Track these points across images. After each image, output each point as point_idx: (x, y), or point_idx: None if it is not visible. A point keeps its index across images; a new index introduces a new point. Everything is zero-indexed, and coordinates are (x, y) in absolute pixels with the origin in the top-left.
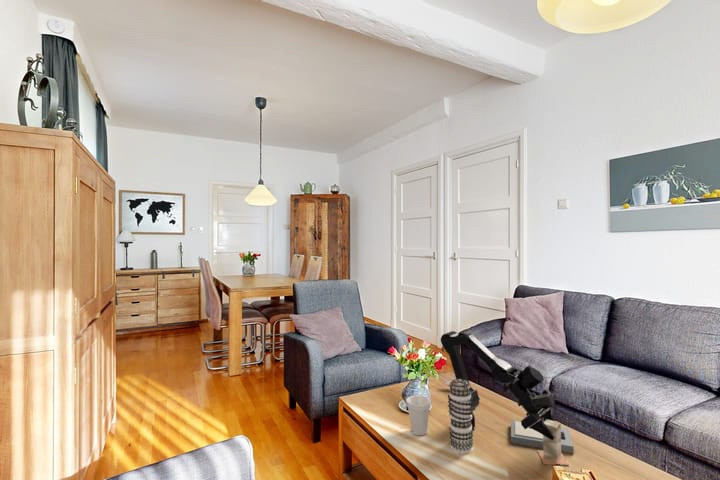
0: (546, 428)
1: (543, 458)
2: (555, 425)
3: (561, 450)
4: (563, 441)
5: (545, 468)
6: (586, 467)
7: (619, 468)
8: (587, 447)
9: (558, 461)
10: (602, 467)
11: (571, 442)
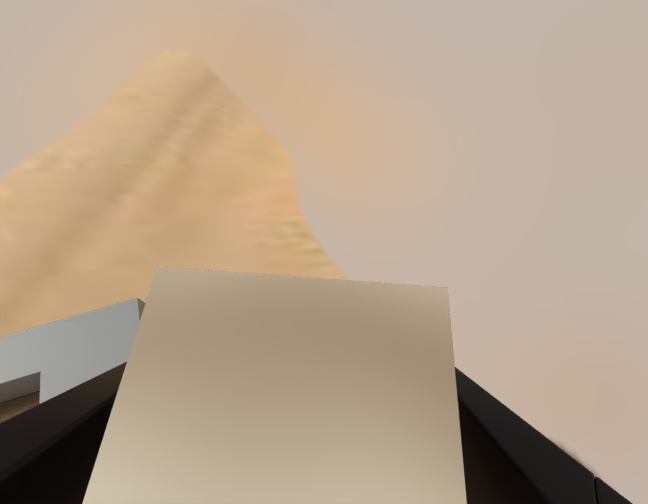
0: (614, 500)
1: None
2: (347, 327)
3: None
4: (77, 382)
5: None
6: (292, 229)
7: (210, 120)
8: (38, 257)
9: None
10: (243, 172)
11: (72, 322)
